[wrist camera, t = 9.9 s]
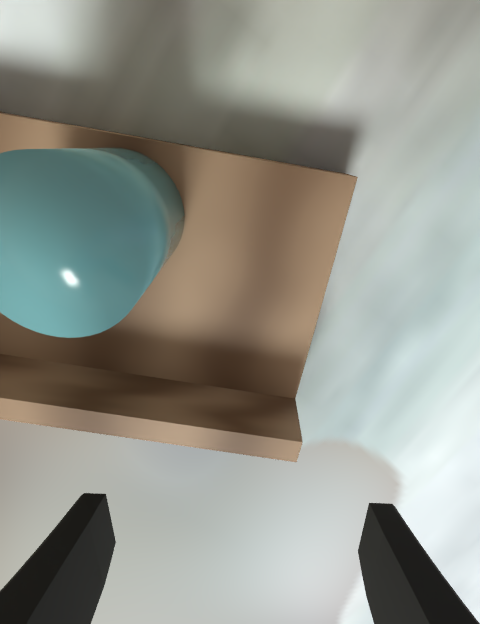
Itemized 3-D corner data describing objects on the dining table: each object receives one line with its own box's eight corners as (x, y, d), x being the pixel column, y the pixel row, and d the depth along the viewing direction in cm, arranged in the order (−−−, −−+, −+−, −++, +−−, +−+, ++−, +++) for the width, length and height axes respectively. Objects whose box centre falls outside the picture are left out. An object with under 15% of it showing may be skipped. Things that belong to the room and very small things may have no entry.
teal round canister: (189, 158, 14) (148, 166, 9) (180, 279, 16) (143, 348, 11) (59, 138, 14) (-68, 133, 8) (66, 263, 16) (-31, 324, 10)
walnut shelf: (345, 173, 16) (383, 184, 11) (286, 393, 21) (296, 462, 16) (-75, 98, 15) (-214, 78, 11) (-32, 344, 20) (-114, 402, 16)
